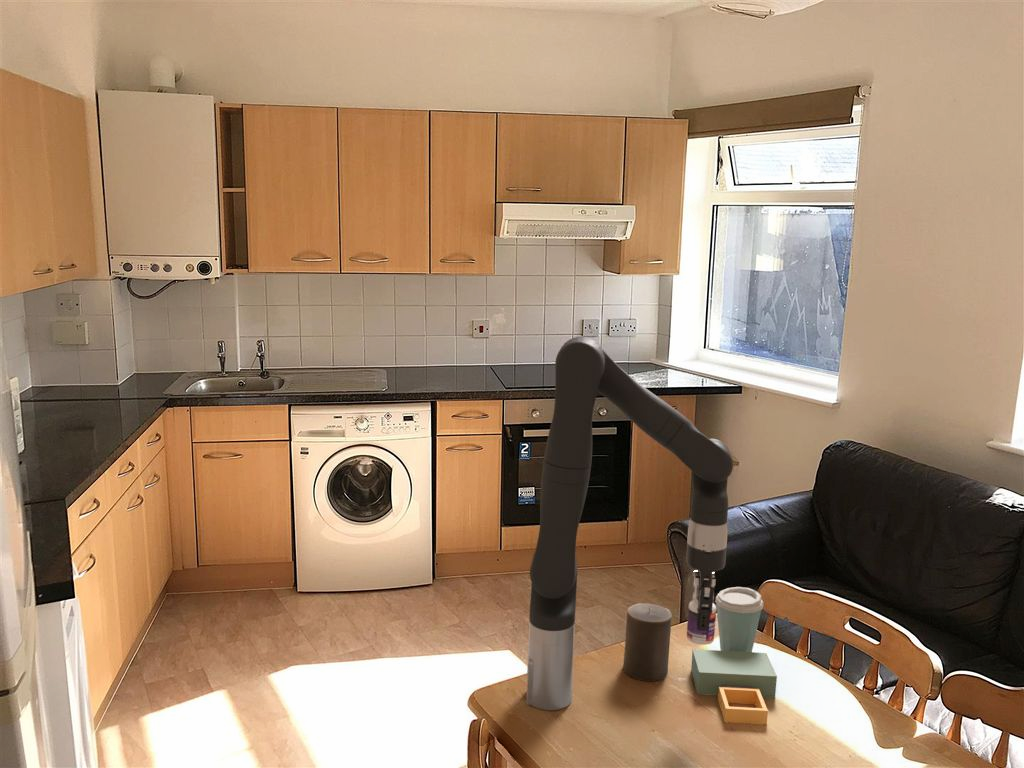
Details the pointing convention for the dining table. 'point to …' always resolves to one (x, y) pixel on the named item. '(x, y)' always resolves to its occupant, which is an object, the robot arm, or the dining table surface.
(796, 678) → the dining table surface
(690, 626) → the pill bottle
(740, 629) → the disposable coffee cup
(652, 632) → the pillar candle
